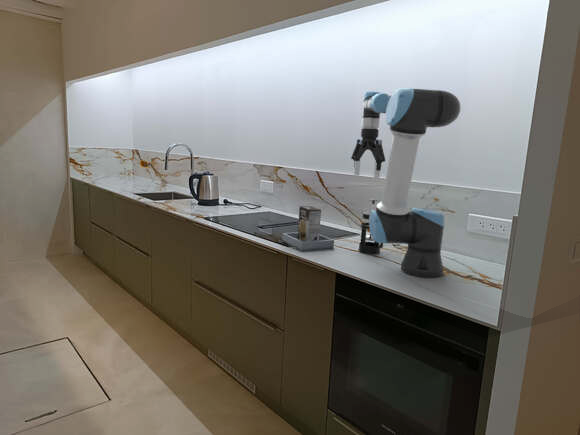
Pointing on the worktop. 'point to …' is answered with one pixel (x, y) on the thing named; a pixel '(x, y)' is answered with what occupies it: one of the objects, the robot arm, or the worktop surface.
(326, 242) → the bin
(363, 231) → the french press
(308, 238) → the coffee box
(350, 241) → the worktop surface
